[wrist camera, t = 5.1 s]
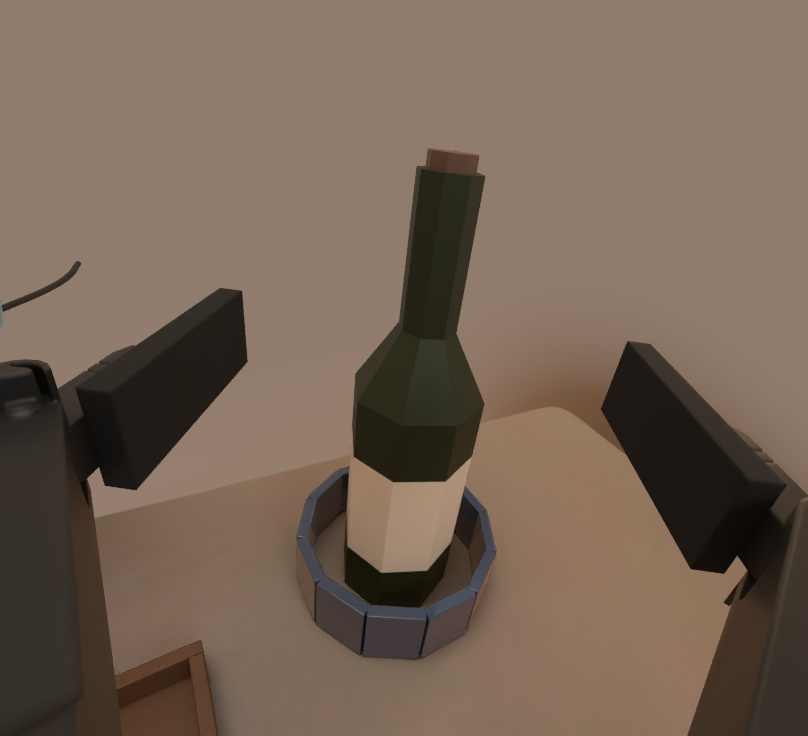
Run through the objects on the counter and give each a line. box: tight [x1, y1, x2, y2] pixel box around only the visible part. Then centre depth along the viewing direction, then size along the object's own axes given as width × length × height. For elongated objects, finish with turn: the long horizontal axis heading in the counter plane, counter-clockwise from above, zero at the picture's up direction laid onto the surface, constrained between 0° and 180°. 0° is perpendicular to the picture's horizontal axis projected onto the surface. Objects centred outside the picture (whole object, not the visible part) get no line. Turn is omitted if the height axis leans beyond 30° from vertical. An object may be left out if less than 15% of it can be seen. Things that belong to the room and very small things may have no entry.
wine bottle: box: [344, 149, 485, 607], centre depth 28 cm, size 8×8×30 cm
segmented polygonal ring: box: [296, 466, 496, 659], centre depth 34 cm, size 15×15×4 cm
